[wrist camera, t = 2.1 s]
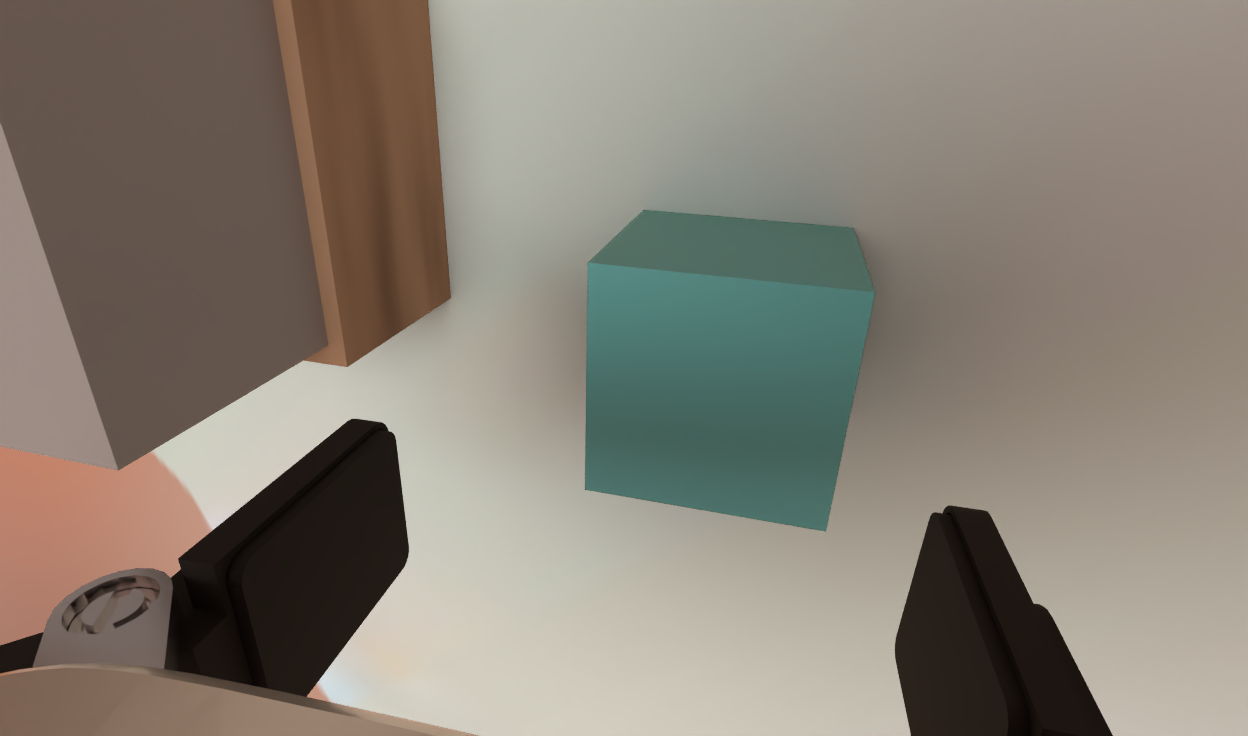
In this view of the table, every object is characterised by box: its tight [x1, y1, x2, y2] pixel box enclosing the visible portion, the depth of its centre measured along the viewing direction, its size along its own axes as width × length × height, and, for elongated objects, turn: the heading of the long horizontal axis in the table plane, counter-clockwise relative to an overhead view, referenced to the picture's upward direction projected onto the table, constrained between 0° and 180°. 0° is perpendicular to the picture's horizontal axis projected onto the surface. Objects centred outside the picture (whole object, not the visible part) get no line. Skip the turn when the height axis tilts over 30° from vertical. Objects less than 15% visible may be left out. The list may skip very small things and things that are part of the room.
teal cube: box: [585, 210, 875, 531], centre depth 18 cm, size 6×6×6 cm
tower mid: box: [0, 0, 328, 470], centre depth 14 cm, size 8×8×6 cm
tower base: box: [273, 0, 451, 367], centre depth 19 cm, size 9×9×6 cm
